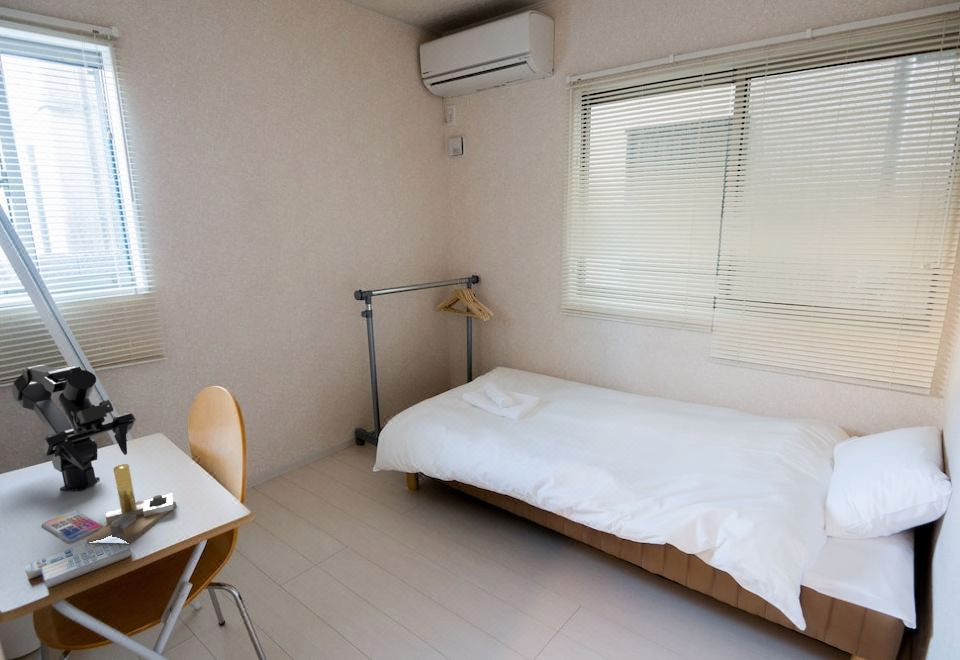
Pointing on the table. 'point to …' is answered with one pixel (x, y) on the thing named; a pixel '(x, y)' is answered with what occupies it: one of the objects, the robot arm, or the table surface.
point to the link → (128, 498)
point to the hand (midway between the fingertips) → (105, 461)
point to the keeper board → (130, 524)
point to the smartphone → (72, 526)
